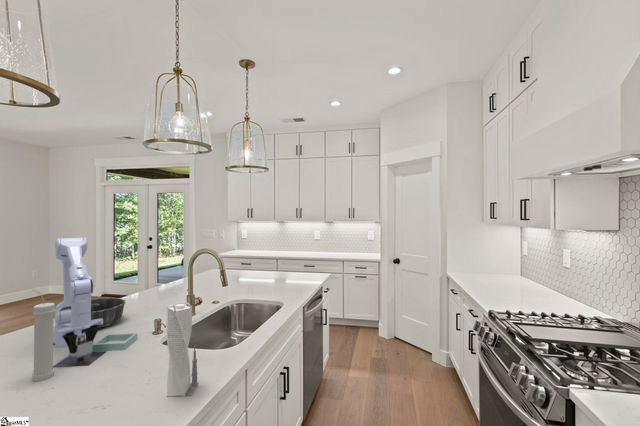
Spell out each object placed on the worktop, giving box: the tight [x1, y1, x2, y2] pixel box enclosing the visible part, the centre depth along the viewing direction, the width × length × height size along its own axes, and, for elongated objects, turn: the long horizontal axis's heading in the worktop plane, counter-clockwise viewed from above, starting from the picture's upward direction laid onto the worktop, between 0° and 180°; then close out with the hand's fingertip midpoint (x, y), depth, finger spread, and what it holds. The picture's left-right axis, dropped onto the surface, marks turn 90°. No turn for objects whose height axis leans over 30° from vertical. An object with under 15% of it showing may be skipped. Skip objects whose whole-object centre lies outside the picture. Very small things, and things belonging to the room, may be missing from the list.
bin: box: [92, 332, 138, 352], centre depth 128 cm, size 12×11×4 cm
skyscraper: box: [165, 301, 199, 398], centre depth 96 cm, size 8×8×28 cm
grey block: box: [68, 334, 94, 358], centre depth 115 cm, size 5×5×6 cm
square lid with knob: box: [53, 351, 108, 369], centre depth 115 cm, size 12×12×4 cm
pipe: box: [31, 288, 56, 382], centre depth 102 cm, size 6×6×30 cm
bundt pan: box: [62, 297, 126, 331], centre depth 155 cm, size 26×26×10 cm
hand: (80, 349), depth 115 cm, fingers closed on grey block, 5 cm apart
